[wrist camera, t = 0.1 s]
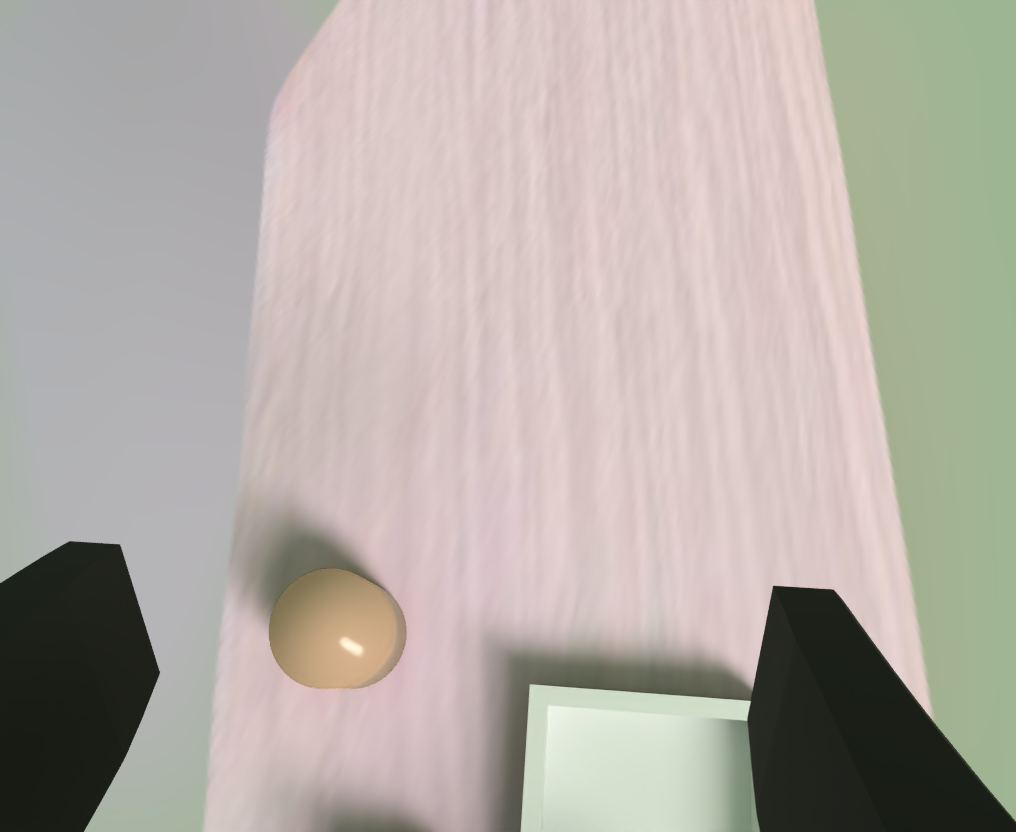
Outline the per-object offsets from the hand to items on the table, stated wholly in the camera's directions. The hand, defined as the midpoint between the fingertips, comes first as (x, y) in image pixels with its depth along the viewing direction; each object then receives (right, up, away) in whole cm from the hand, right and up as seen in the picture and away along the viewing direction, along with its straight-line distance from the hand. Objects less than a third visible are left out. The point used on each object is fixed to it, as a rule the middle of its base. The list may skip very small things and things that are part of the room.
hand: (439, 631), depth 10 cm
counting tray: (+7, -15, +28) cm, 33 cm away
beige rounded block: (-7, -8, +32) cm, 33 cm away
